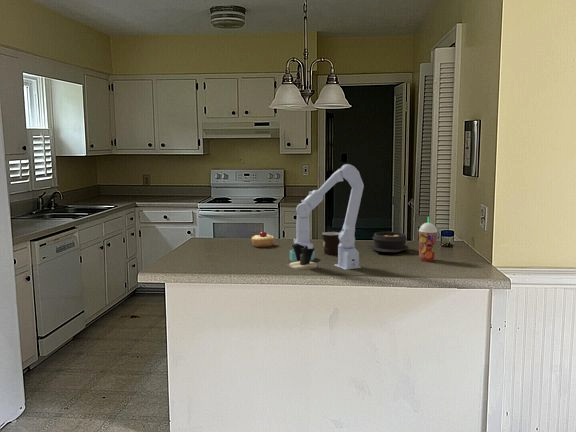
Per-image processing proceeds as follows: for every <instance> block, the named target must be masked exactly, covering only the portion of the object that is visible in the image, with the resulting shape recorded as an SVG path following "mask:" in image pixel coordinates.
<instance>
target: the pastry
mask: <svg viewBox="0 0 576 432" xmlns="http://www.w3.org/2000/svg"><path fill="white" fill-rule="evenodd" d="M250 239H251V243H252V244H251V245H252V246H253V247H255V248H262V247H263V248H270V247H272V246H273V245H274V243H275V236H274V235H270V234H269V233H268V232H266V231H264V230H263V229H262V228H261V229H260V232H259V234H255V235H253V236H252V237H251V238H250Z"/></svg>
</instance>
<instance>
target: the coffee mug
mask: <svg viewBox="0 0 576 432" xmlns="http://www.w3.org/2000/svg"><path fill="white" fill-rule="evenodd" d="M339 233H340V232H337V231H331V232H330V231H327V232H322V234H321V236H322V244H323V254H325V255H328V256H338V245H339V244H340V240H339V237H338V236H339Z"/></svg>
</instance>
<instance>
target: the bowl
mask: <svg viewBox="0 0 576 432" xmlns="http://www.w3.org/2000/svg"><path fill="white" fill-rule="evenodd" d="M289 260H290V261H292V262H298V261H297V259H296V254H295V251H294V249H291V250H289ZM313 261H315V250H314V251H313V253H312V256H311V259H310V262H313Z"/></svg>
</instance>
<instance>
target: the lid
mask: <svg viewBox="0 0 576 432" xmlns="http://www.w3.org/2000/svg"><path fill="white" fill-rule="evenodd" d="M317 266H318V264H317V263H316V262H314V261H310V263H309V264H304V257H303V254H300V261H298V262H296V261H292V262H289V267H288V268H290V267H291V269H292V268H294V269H307V270H314V269H313V268H315V269H317V268H316V267H317ZM294 269H293V270H294Z"/></svg>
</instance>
